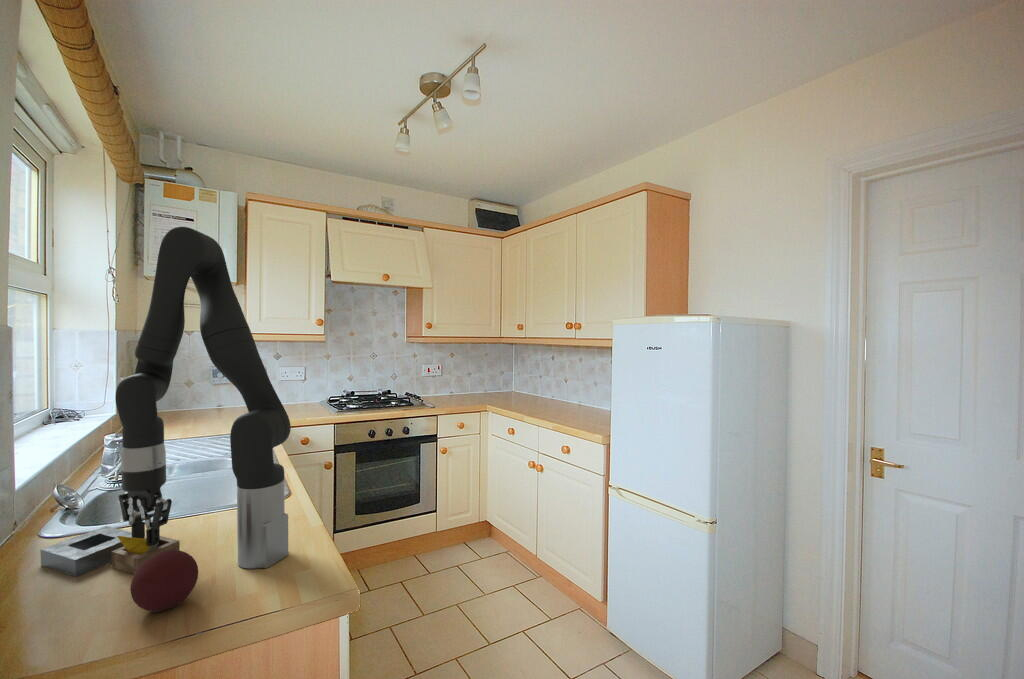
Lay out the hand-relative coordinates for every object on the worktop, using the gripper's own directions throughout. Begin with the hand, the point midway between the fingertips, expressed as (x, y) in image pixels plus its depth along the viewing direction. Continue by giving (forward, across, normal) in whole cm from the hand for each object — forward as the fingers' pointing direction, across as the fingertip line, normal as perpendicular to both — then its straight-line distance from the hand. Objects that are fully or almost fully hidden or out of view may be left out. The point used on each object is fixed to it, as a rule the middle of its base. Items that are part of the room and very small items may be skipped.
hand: (145, 542), depth 99 cm
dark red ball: (+4, -20, +9) cm, 23 cm away
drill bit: (+4, 0, +1) cm, 5 cm away
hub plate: (+4, +13, +3) cm, 14 cm away
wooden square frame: (+4, 0, 0) cm, 4 cm away
